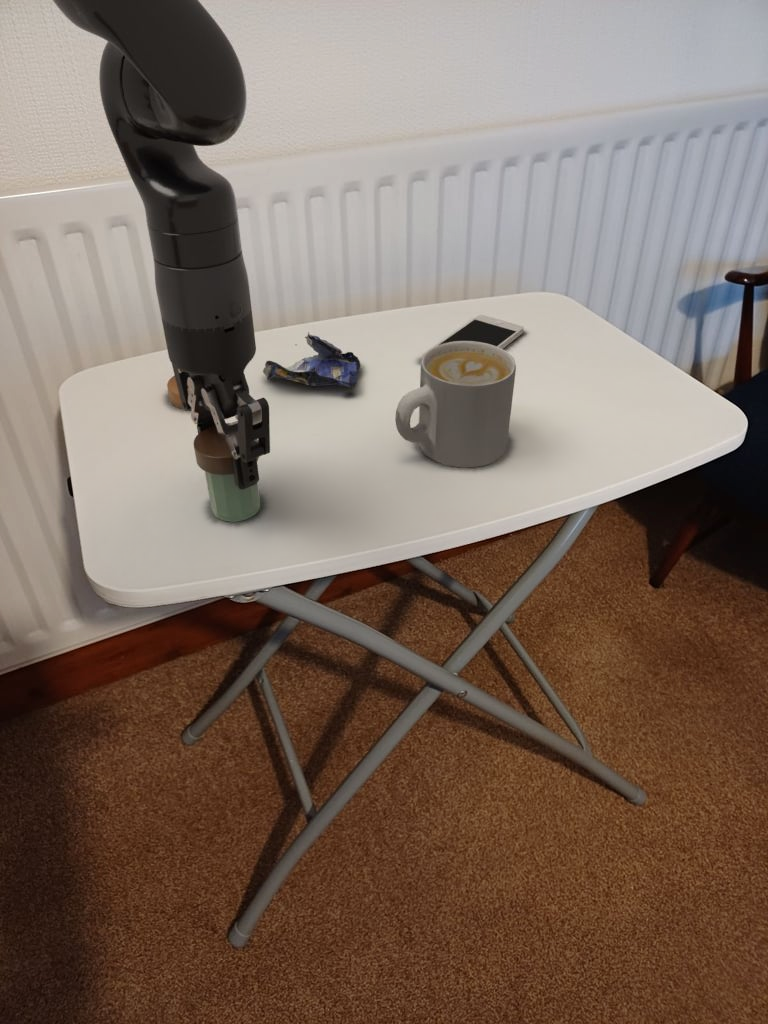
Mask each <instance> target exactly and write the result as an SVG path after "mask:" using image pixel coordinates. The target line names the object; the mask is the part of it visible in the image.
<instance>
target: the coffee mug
mask: <svg viewBox="0 0 768 1024" xmlns="http://www.w3.org/2000/svg"><path fill="white" fill-rule="evenodd" d="M436 345H437V344H436ZM436 345H434V346H435V347H434V346H433V347H431V348H430V349H428V350H426V352H424V353H425V354H424V353H423V354H424V355H423V354H422V357H421V360H420V373H419V374H420V375H419V387H418V388H416V389H413V390H410V391H408V392H407V393H405V394H404V395H403V396H402V397H401V399H400V400H399V401H398V404H397V406H396V410H395V425H396V430H397V432H398V433H399V436H401V437H402V438H403V440H405V441H407V442H410V443H418V446H419V448H420V450H421V452H422V453H423V454H424V455H426V457H428V458H429V459H431V460H433V461H434V462H436V463H439V464H441V465H444V466H448V467H452V468H453V467H454V468H479V467H483V466H487V465H489V464H492V463H495V462H496V461H497V460H499V459H501V458H502V456H503V455H505V453H506V451H507V447H508V441H509V431H510V424H511V414H512V406H513V398H514V390H515V389H514V388H515V382H516V381H515V380H516V371H517V364H516V361H515V358H514V357H513V355H511V354H510V353H509V352H508V351H506V350H504V348H503V349H501V348H499V347H496V346H494V345H490V344H487V343H482V342H475V341H455V342H448V343H444V344H440V345H437V346H436ZM417 408H418V409H419V411H418V423H417V424H416V425H415V426H413V427H411V418H412V416H413V413H414V412H415V410H416V409H417Z"/></svg>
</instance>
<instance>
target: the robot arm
mask: <svg viewBox="0 0 768 1024" xmlns="http://www.w3.org/2000/svg"><path fill="white" fill-rule="evenodd" d="M52 1H53V3H54V4H55V6H56V7H57V8H58V10H60V12H61V13H62V14H63V15H64V16H65V17H66V18H67V19H68V20H69V21H70V22H71V23H72V24H73V25H75V26H76V27H77V28H79V29H81V30H83V31H85V32H87V33H90V34H92V35H94V36H96V37H99V38H101V39H103V40H105V41H106V44H105V46H104V49H103V50H102V54H101V59H100V63H99V74H98V75H99V77H98V80H99V81H98V82H99V91H100V92H99V93H100V98H101V104H102V107H103V111H104V114H105V117H106V120H107V123H108V126H109V128H110V131H111V133H112V135H113V138H114V141H115V143H116V145H117V147H118V150H119V152H120V155H121V158H122V159H123V161H124V164H125V167H126V170H127V171H128V174H129V176H130V178H131V180H132V183H133V185H134V187H135V188H136V190H137V192H138V195H139V197H140V199H141V202H142V203H143V206H144V212H145V218H146V219H145V220H146V225H147V231H148V238H149V243H150V247H151V253H152V258H153V265H154V266H153V267H154V283H155V284H154V285H155V291H156V296H157V302H158V308H159V312H160V313H159V314H160V317H161V324H162V328H163V329H162V330H163V334H164V339H165V344H166V345H165V346H166V351H167V355H168V358H169V361H170V363H171V366H172V370H173V376H174V375H175V379H176V383H177V387H178V391H179V395H180V399H181V403H182V407H183V408H184V409H183V410H184V411H185V412H188V411H190V418H191V420H192V422H193V423H194V425H196V429H197V435H198V434H199V433H200V432H201V431H203V430H204V429H206V428H209V427H211V426H214V425H216V427H217V430H218V433H219V434H220V435H224V436H225V437H226V440H227V443H228V446H229V449H230V451H231V459H232V465H233V472H234V479H235V485H236V486H237V487H238V488H239V489H241V490H243V489H246V488H248V487H250V486H253V485H255V484H257V483H258V484H259V481H260V475H259V474H260V473H259V466H258V461H257V457H259V458H260V457H262V456H265V455H268V454H270V453H271V433H270V431H271V430H270V429H271V428H270V426H271V425H270V405H269V402H268V400H267V398H265V397H261V398H258V399H255V398H254V397H253V396H251V394H250V388H249V387H250V386H249V385H248V384H249V383H248V381H247V378H246V374H245V370H246V368H247V367H248V365H249V364H250V362H251V361H252V360H253V359H254V357H255V355H256V352H257V344H256V336H255V327H254V317H253V309H252V308H253V307H252V301H251V291H250V290H251V289H250V285H249V284H250V283H249V276H248V271H247V267H246V262H245V260H244V255H243V248H242V241H241V240H242V239H241V232H240V222H239V212H238V204H237V199H236V194H235V190H234V187H233V185H232V184H231V182H230V181H229V180H228V179H227V178H226V177H224V175H222V174H220V173H219V172H217V171H216V170H214V169H212V168H211V167H209V166H208V165H207V164H206V163H204V161H203V160H202V159H201V158H200V157H199V154H198V152H197V150H196V148H195V146H197V147H198V146H199V147H212V146H218V145H220V144H223V143H225V142H227V141H228V140H230V139H231V138H232V137H233V136H234V135H235V134H236V133H237V131H238V130H239V128H240V127H241V126H242V123H243V121H244V118H245V114H246V110H247V101H248V99H247V98H248V97H247V83H246V79H245V74H244V71H243V67H242V64H241V62H240V60H239V57H238V55H237V53H236V50H235V48H234V47H233V44H232V43H231V41H230V40H229V38H228V37H227V35H226V33H225V32H224V31H223V29H222V28H221V27H220V25H219V24H218V22H217V21H216V20H215V19H214V17H213V16H212V15H211V14H210V12H209V11H208V10H207V9H206V8H205V7H204V6H203V4H202V3H201V2H200V1H199V0H52ZM188 387H189V394H188ZM233 417H235V421H233V422H229V423H230V424H227V423H228V422H226V420H228V419H230V418H233ZM237 431H238V434H239V444H238V442H237V439H236V436H235V433H236V432H237Z"/></svg>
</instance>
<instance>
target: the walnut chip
mask: <svg viewBox="0 0 768 1024" xmlns="http://www.w3.org/2000/svg"><path fill="white" fill-rule="evenodd" d="M226 423H227V424H230V423H231V422H226ZM235 436H236V439H237V442H238V444H239V434H238V431H237V432H236V433H235ZM192 445H193V451H194V455H195V456H194V457H195V461H196V464H197V467H199V468H200V469H201V470H202V471H204V472H205V471H206V472H208V473H211V474H216V475H231V474H234V472H233V465H232V459H231V451H230V449H229V446H228V443H227V440H226V437H225V436H224V435H220V434H219V433H218V430H217V427H216V425H214V426H211V427H209V428H206V429H204V430H203V431H201V432H200V433H199V434H198V433H197V434H196V435H195V437H194V440H193V444H192ZM259 458H260V457H257V462H258V461H259Z"/></svg>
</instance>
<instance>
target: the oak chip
mask: <svg viewBox="0 0 768 1024" xmlns="http://www.w3.org/2000/svg"><path fill="white" fill-rule="evenodd" d="M166 387H167V392H168V398H169V401H170V403H171V404H172V405H173V406H174V407H176V408H177V409H180V410H184V408H183V407H182V403H181V399H180V395H179V391H178V387H177V383H176V379H175V375H174V374H173V376H172V377H171V378H169V380H168V381H167V384H166ZM188 394H189V387H188Z"/></svg>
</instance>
